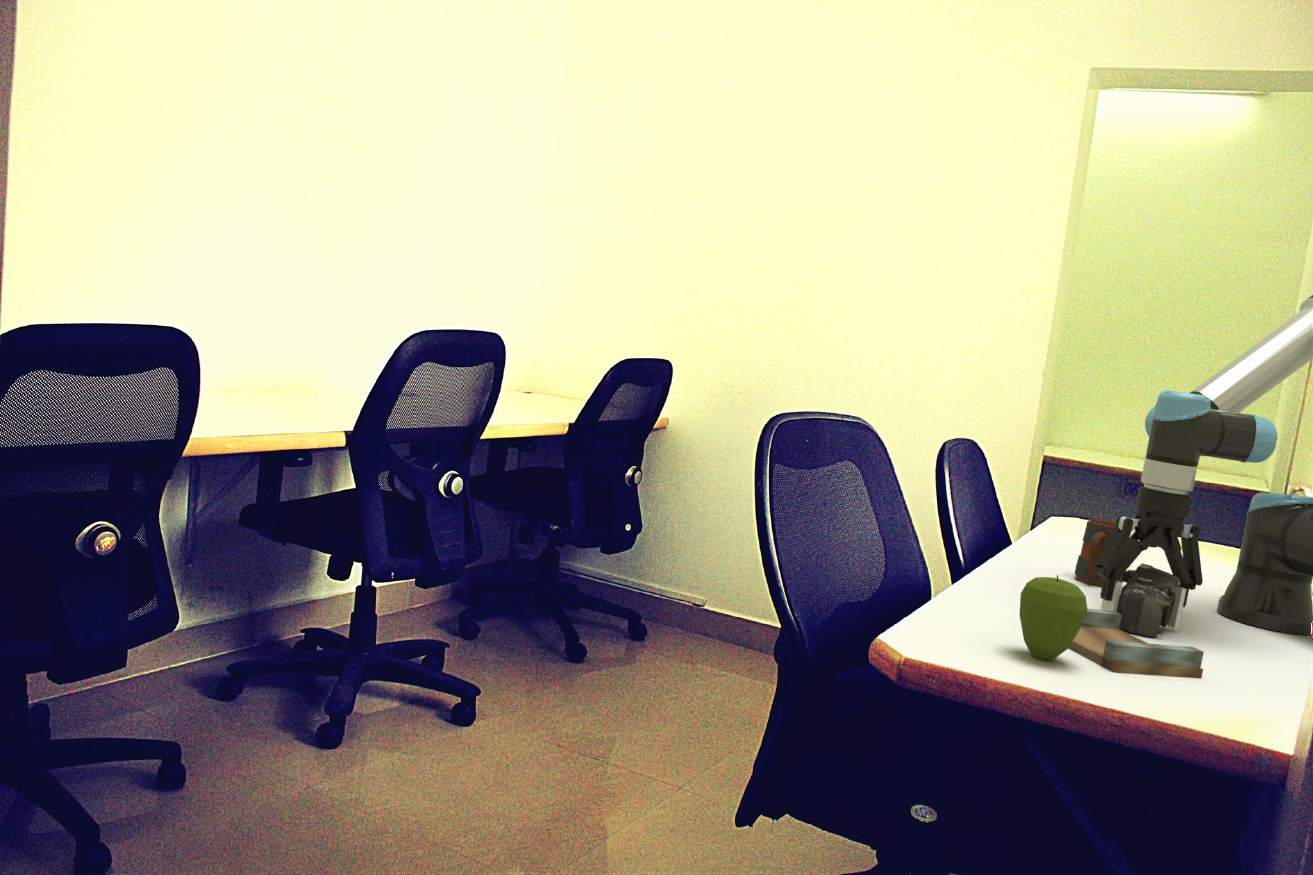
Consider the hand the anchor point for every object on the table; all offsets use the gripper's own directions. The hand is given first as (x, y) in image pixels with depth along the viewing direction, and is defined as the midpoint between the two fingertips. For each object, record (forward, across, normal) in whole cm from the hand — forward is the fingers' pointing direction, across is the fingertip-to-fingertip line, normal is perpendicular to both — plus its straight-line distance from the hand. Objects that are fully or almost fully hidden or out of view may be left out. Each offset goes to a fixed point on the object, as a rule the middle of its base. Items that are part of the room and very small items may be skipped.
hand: (1138, 623), depth 169 cm
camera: (+1, 0, 0) cm, 1 cm away
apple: (+1, +31, +20) cm, 37 cm away
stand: (+1, +16, +14) cm, 21 cm away
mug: (+1, -14, -30) cm, 33 cm away
